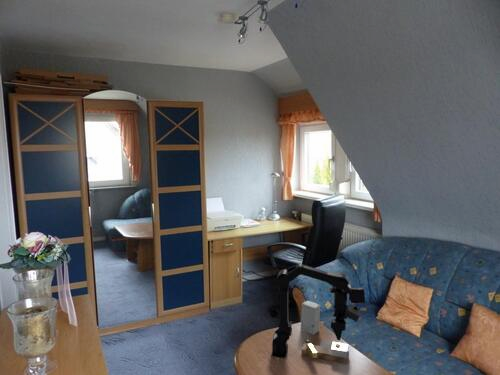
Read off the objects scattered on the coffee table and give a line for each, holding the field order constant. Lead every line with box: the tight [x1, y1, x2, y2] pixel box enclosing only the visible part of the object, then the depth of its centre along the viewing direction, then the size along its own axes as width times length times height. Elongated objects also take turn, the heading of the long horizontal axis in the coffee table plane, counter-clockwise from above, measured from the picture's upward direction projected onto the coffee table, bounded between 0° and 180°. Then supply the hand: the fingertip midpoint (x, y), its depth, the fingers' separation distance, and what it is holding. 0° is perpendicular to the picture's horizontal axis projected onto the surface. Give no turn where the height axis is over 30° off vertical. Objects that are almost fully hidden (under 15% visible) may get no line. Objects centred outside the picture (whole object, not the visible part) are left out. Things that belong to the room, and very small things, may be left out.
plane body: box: [300, 342, 350, 365], centre depth 170 cm, size 21×6×3 cm, turn 71°
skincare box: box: [300, 300, 322, 336], centre depth 193 cm, size 8×6×15 cm
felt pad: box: [319, 341, 332, 348], centre depth 178 cm, size 8×7×1 cm
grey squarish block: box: [331, 341, 349, 358], centre depth 168 cm, size 7×6×4 cm
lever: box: [304, 338, 318, 359], centre depth 168 cm, size 11×3×3 cm, turn 11°
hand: (339, 335), depth 166 cm, fingers open, 9 cm apart
